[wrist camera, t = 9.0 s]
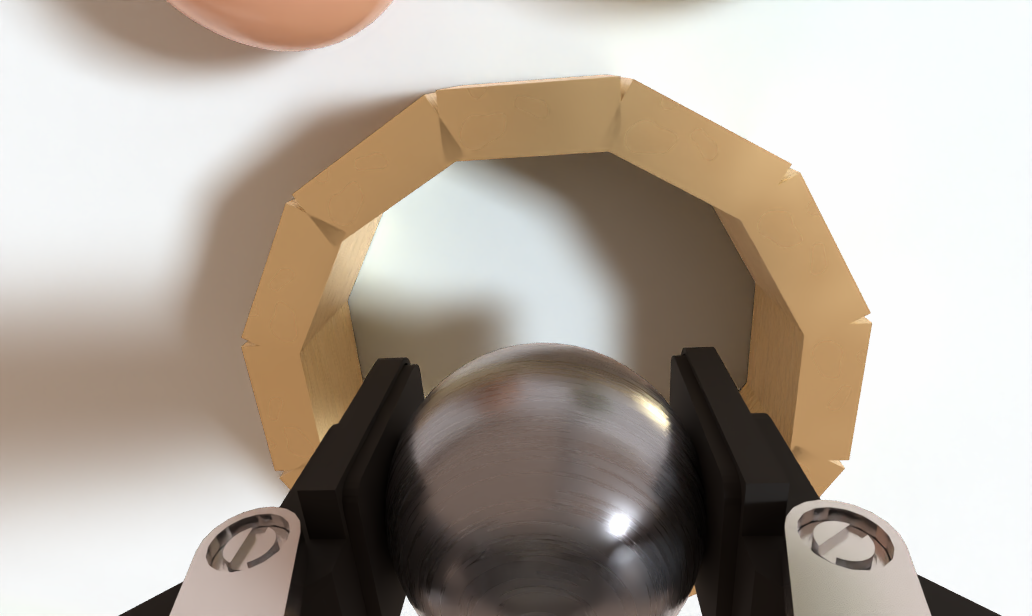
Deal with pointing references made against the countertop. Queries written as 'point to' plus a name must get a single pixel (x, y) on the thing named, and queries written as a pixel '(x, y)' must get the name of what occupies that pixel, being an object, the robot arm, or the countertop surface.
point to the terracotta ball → (283, 20)
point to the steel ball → (545, 491)
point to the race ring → (557, 131)
